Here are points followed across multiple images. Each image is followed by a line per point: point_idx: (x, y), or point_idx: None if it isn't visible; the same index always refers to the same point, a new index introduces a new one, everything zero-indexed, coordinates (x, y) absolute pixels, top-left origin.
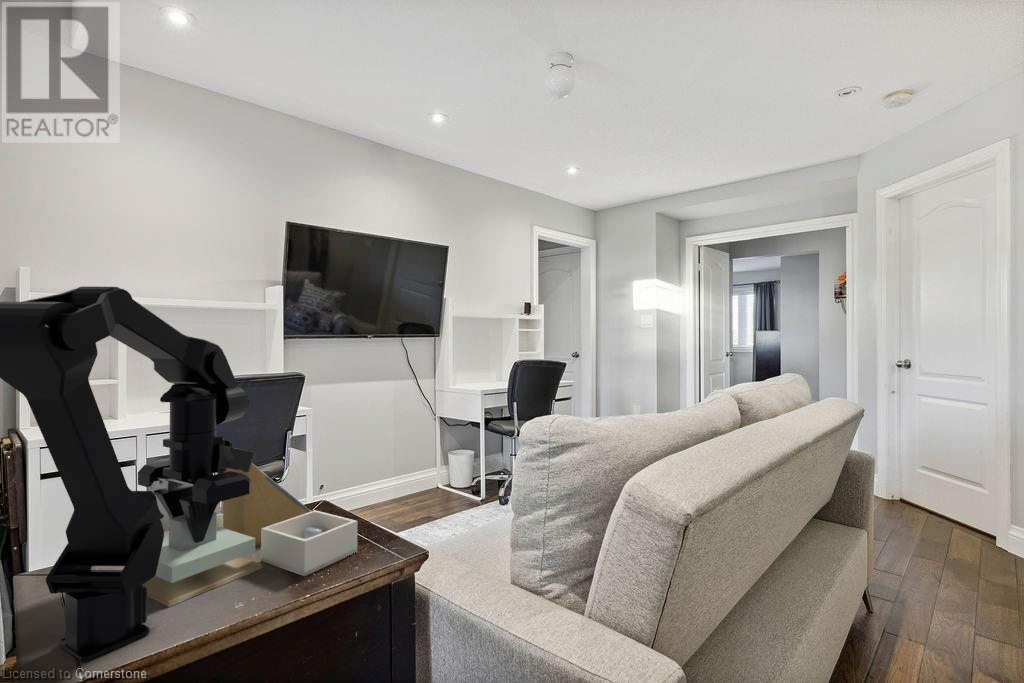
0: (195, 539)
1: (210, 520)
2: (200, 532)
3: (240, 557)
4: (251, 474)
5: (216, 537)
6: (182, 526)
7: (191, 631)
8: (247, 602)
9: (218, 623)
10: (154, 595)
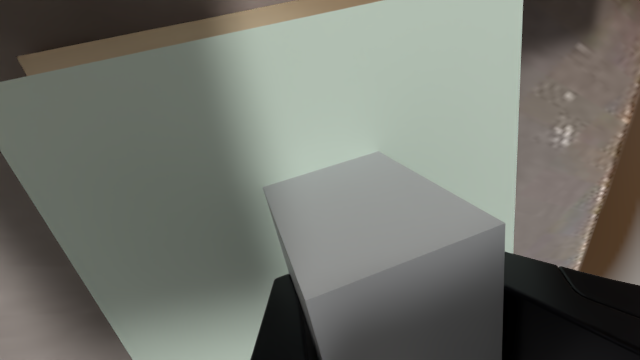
0: None
1: (535, 262)
2: None
3: (303, 6)
4: None
5: (345, 141)
6: None
7: (567, 237)
8: (571, 116)
9: (586, 192)
10: None
